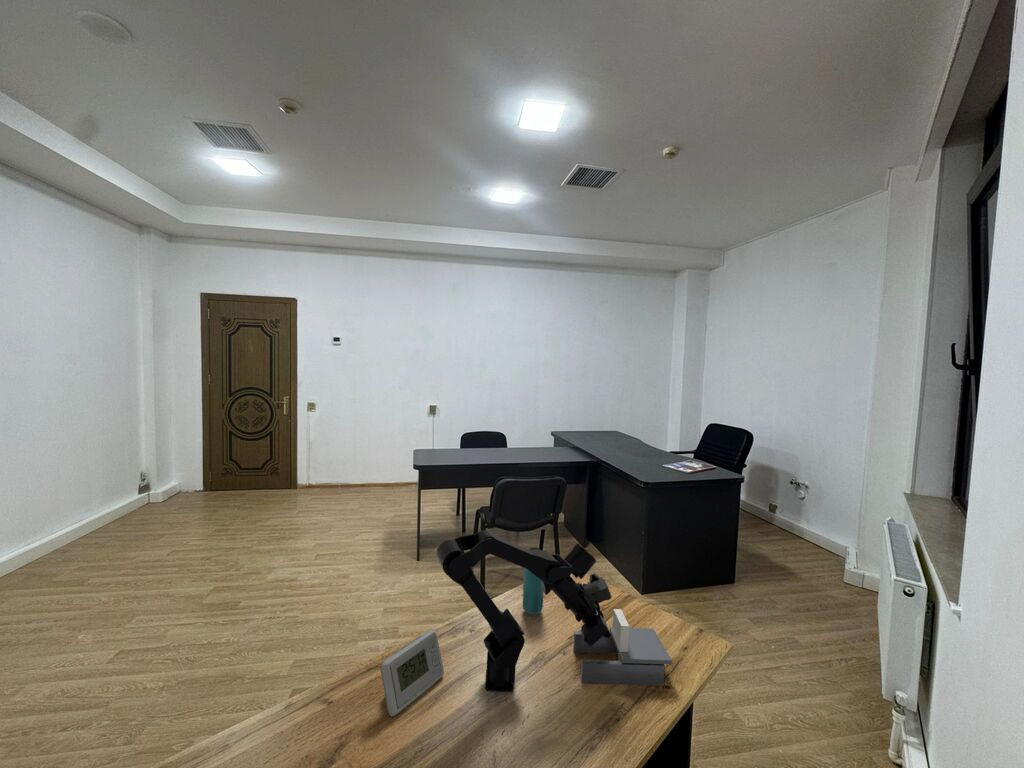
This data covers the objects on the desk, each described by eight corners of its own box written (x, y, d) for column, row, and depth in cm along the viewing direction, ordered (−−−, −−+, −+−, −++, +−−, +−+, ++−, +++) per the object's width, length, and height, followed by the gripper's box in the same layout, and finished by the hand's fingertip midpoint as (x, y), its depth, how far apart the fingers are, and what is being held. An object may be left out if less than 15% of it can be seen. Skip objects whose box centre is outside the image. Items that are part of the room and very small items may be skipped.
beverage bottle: (543, 619, 123) (546, 554, 122) (521, 618, 123) (524, 553, 122) (542, 607, 130) (545, 545, 129) (521, 606, 130) (524, 544, 129)
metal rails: (581, 683, 99) (582, 663, 98) (573, 649, 111) (574, 631, 110) (663, 685, 99) (664, 665, 99) (646, 651, 111) (647, 633, 111)
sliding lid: (622, 662, 99) (624, 632, 98) (609, 630, 111) (611, 603, 110) (671, 664, 99) (673, 633, 99) (653, 632, 111) (654, 604, 111)
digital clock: (388, 723, 86) (390, 674, 85) (369, 697, 92) (371, 651, 92) (452, 684, 97) (454, 641, 96) (431, 663, 103) (433, 622, 103)
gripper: (601, 590, 94) (645, 639, 95) (585, 554, 113) (622, 594, 114) (565, 622, 95) (610, 670, 95) (555, 580, 113) (592, 621, 114)
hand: (609, 635), depth 104 cm, fingers closed
